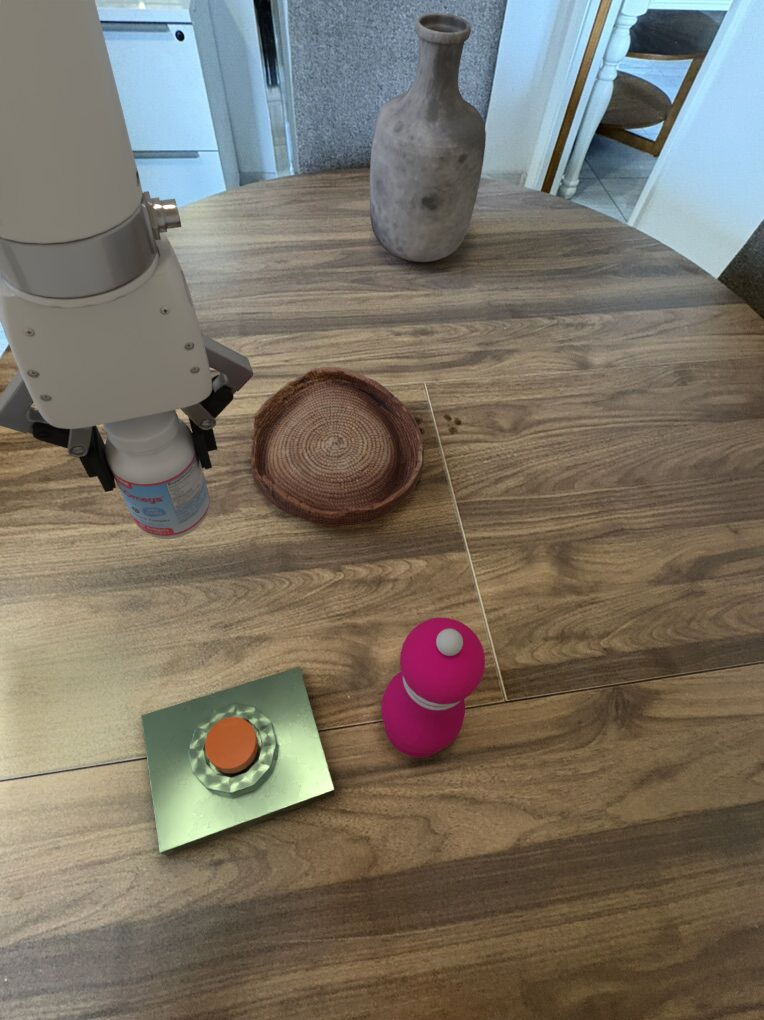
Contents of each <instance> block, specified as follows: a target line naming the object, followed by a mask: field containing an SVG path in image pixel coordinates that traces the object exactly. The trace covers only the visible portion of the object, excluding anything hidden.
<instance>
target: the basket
mask: <svg viewBox="0 0 764 1020" xmlns="http://www.w3.org/2000/svg"><path fill="white" fill-rule="evenodd" d="M253 418H254V422H253V432H252V436H251V440H252V442H253V443H252V444H251V452H250V453H251V454H250V455H251V456H250V467H251V473H252V479H253V481H254V483H255V485H256V487H257V489H258V490H259V491H260V493H261V495H262V496H263V497H264V498H265V499H266V500H267V501H268V502H269V503H271V504H272V505H273V506H274V507H276V508H277V509H279V510H281V511H283V512H285V513H287V514H288V515H290V516H292V517H296V518H299V519H302V520H304V521H307V522H309V523H313V524H316V525H322V526H327V527H328V526H329V527H336V528H337V527H338V528H339V527H355V526H359V525H365V524H368V523H369V524H370V523H372V522H374V521H376V520H380V519H381V518H383V517H386V516H388V515H389V514H390V513H392V512H393V511H394V510H395V509H397V508H398V507H399V506H400V505H401V504H402V503H403V502H404V501H405V500H406V499H407V498H408V497H409V496H410V495H411V494H412V492H413V491H414V489H415V488H416V485H417V483H418V482H419V479H420V477H421V475H422V473H423V467H424V463H425V448H424V441H423V435H422V432H421V430H420V426H419V424H418V421H417V420H416V418H415V417H414V415H413V414H412V412H411V411H410V410H409V409H408V408H407V406H406V405H405V404H404V403H403V401H402V400H401V399H399V398H398V397H396V396H395V395H393V393H392V392H391V391H390V390H389V389H387V387H385V386H383V384H381V383H380V382H378V381H377V380H374V378H373V379H372V378H370V377H368V376H365V375H364V374H361V373H359V372H356V371H353V370H351V369H348V368H344V367H338V366H321V367H313V368H311V369H310V370H308V371H307V372H306V373H304V374H303V375H302V376H298V377H297V378H295V379H294V380H291V381H288V382H287V383H285V385H283V386H282V387H280V388H279V389H278V390H276V392H274V393H272V394H271V395H270V396H269V397H268V398H267V399H266V400H265V401H264V402H263V403H262V404H261V406H260V407H259V408H258V409H257V411H256V412H255V414H254V416H253Z"/></svg>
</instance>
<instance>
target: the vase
mask: <svg viewBox="0 0 764 1020" xmlns="http://www.w3.org/2000/svg"><path fill="white" fill-rule="evenodd" d="M414 31H415V35H417V37H418V49H417V51H418V52H417V63H416V71H415V75H414V79H413V81H412V84H411V85H410V87H409V88H408V89H407V90H406V92H404V93H400V94H398V95H395V96H393V97H391V98H390V99H389V100H387V101H386V102H385V103H384V105H382V107H381V108H380V109H379V112H378V114H377V116H376V119H375V123H374V127H373V132H372V141H371V142H372V143H371V151H370V164H369V218H370V223H371V224H370V225H371V228H372V233H373V235H374V237H375V239H376V241H377V243H378V244H379V245H380V246H381V247H382V248H383V249H384V250H385V251H387V252H388V253H390V254H391V255H392V256H395V257H398V258H400V259H402V260H405V261H410V262H414V263H415V262H416V263H428V262H435V261H438V260H441V259H444V258H445V257H446V258H447V257H448V256H450V255H451V254H453V253H454V252H456V250H457V249H458V248H459V247H460V246H461V244H462V242H463V241H464V238H465V237H466V236H467V232H468V230H469V226H470V224H471V220H472V217H473V212H474V209H475V205H476V201H477V197H478V191H479V186H480V183H481V178H482V172H483V166H484V159H485V150H486V140H487V133H486V132H487V131H486V125H485V121H484V118H483V116H482V114H481V113H480V112H479V111H478V109H477V108H476V107H475V106H474V105H473V104H471V103H470V102H468V101H467V100H465V99H464V98H463V96H462V94H461V91H460V88H459V73H460V66H461V60H462V55H463V50H464V46H465V42H466V41H468V40H469V39H470V36H471V31H472V25H471V24H470V22H469V21H468V20H467V19H465V18H463V17H460V16H458V15H455V14H451V13H444V12H430V13H425V14H421V15H420V16H419V15H418V17H417V18H416V20H415V24H414Z"/></svg>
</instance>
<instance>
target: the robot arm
mask: <svg viewBox="0 0 764 1020" xmlns="http://www.w3.org/2000/svg"><path fill="white" fill-rule="evenodd" d="M97 7H98V6H97V4H96V0H0V325H1V327H2V329H3V332H4V333H3V334H4V335H5V336H4V337H5V338H6V342H7V344H8V346H9V348H10V351H11V353H12V356H13V358H14V361H15V363H16V365H17V368H18V371H17V372H16V373H15V375H14V376H13V377H12V379H11V381H10V382H9V383H8V385H7V386H6V388H5V389H4V390H3V392H2V393H1V395H0V427H2V428H6V429H10V430H13V431H16V432H18V433H19V432H20V433H21V434H31V435H32V436H33V438H34V439H35V440H38V441H41V442H44V443H47V444H51V445H54V446H58V447H61V448H64V449H67V453H68V455H70V456H71V457H73V458H74V457H75V458H78V459H79V461H80V463H81V465H82V467H83V468H84V470H85V472H86V474H87V476H88V478H95V477H97V479H98V481H99V483H100V484H101V486H102V489H103V491H104V493H108V492H112V491H114V489H116V488H117V486H116V485H117V484H116V480H115V478H114V476H113V474H112V472H111V470H110V467H109V465H108V463H107V460H106V456H105V444H106V443H105V442H104V439H103V438H102V436H101V433H100V430H99V428H98V427H97V426H101V425H103V424H107V423H112V422H117V421H122V420H127V419H132V418H137V417H142V416H147V415H152V414H157V413H162V412H166V411H171V410H181V411H182V412H183V413H184V414H185V415H186V416H187V418H188V423H189V425H190V426H189V427H190V430H191V432H192V434H193V437H194V441H195V445H196V448H197V452H198V456H199V459H200V463H201V466H202V469H204V470H209V469H213V466H212V462H211V458H210V457H211V456H210V453H209V452H214V451H217V450H218V444H217V441H216V437H215V432H214V428H215V427H216V425H217V420H216V419H217V417H218V416H219V415H220V414H221V413H222V412H224V410H225V409H226V408H227V407H228V406H229V405H230V404H231V402H233V400H234V397H235V396H234V395H235V394H236V393H237V392H239V391H240V390H241V389H242V388H243V387H244V386H245V385H246V384H247V383H248V382H249V381H250V380H251V378H252V377H253V376H254V371H253V367H252V365H251V362H250V360H249V358H248V357H247V356H244V355H243V354H241V353H239V352H237V351H235V350H234V349H231V348H230V347H228V346H226V345H224V344H222V343H220V342H218V341H217V340H214V339H213V338H210V337H209V336H208V335H205V334H203V333H202V331H201V326H200V323H199V319H198V316H197V313H196V309H195V305H194V301H193V299H192V294H191V291H190V289H189V286H188V285H189V284H188V282H187V279H186V277H185V274H184V271H183V269H182V266H181V263H180V261H179V259H178V256H177V254H176V252H175V250H174V248H173V245H172V244H171V242H170V240H169V238H168V236H167V235H166V234H164V233H168V230H169V229H171V230H172V229H177V228H182V222H181V216H180V214H179V209H178V205H177V201H176V198H168V199H162V200H161V199H160V197H151V195H150V192H149V190H148V191H143V189H142V184H141V179H140V175H139V170H138V166H137V163H136V159H135V156H134V151H133V148H132V144H131V139H130V135H129V131H128V127H127V124H126V123H127V122H126V119H125V115H124V109H123V107H122V102H121V98H120V94H119V91H118V88H117V87H118V86H117V83H116V79H115V75H114V71H113V67H112V63H111V59H110V56H109V52H108V47H107V43H106V38H105V35H104V31H103V27H102V22H101V19H100V15H99V11H98V8H97ZM211 369H212V370H215V371H217V372H219V374H217V375H214V376H213V377H212V373H211ZM33 404H34V406H35V407H36V408H35V407H33Z"/></svg>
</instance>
